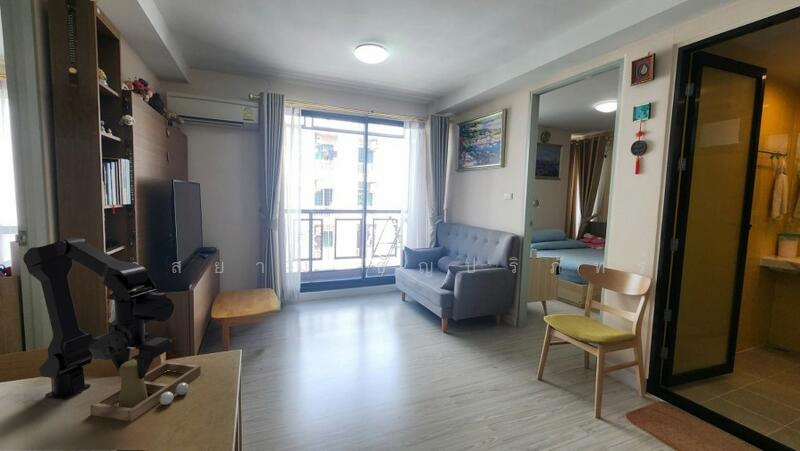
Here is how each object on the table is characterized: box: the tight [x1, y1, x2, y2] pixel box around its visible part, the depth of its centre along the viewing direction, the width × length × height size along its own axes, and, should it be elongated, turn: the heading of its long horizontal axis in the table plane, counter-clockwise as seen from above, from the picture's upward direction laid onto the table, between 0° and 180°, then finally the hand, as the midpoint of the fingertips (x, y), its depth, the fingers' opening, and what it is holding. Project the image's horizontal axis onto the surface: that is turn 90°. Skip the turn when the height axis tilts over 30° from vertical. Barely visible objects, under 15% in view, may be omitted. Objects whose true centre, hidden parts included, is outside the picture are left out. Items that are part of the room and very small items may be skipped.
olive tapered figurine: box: [118, 359, 149, 408], centre depth 87 cm, size 6×6×11 cm
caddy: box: [90, 361, 202, 422], centre depth 92 cm, size 12×22×2 cm, turn 171°
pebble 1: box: [159, 392, 175, 406], centre depth 87 cm, size 3×3×3 cm
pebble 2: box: [175, 383, 189, 396], centre depth 92 cm, size 3×3×3 cm
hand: (132, 376), depth 87 cm, fingers closed on olive tapered figurine, 5 cm apart
